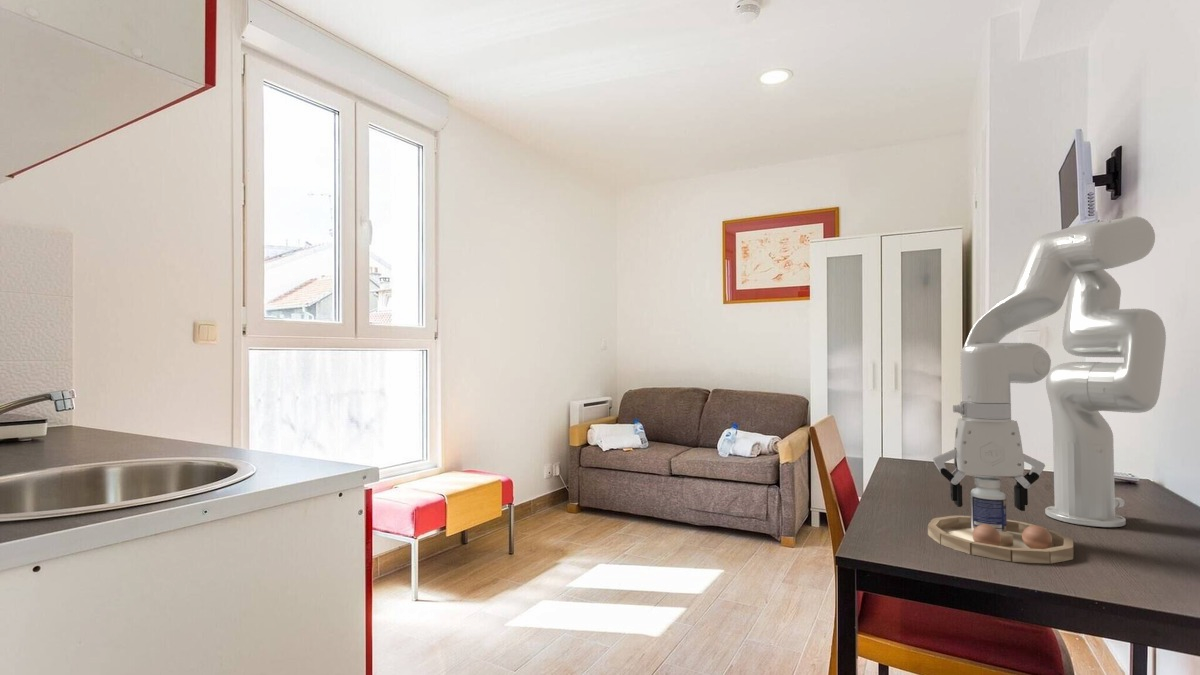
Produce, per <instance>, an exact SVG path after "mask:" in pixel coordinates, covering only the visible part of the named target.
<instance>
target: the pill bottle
mask: <svg viewBox="0 0 1200 675" xmlns="http://www.w3.org/2000/svg"><path fill="white" fill-rule="evenodd" d="M973 483H974V485H975V486H976V487H975V488H972V489H971V491H970V493H969V494H970V516H971V528H972V530H974V529H975V528H976V527H977V526H979V525H983V524H986V525H990V526H992V527H994V528H995V529H997V530H998V531H1004V532H1007V524H1006V519H1007V497H1006V496H1007V494H1005V492H1004V491H1002V490H1001V488H1002V482H1001V478H999V477H980V476H974V482H973Z"/></svg>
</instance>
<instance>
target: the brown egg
mask: <svg viewBox="0 0 1200 675" xmlns="http://www.w3.org/2000/svg"><path fill="white" fill-rule="evenodd" d="M972 536H973V540H974V542H978V543H984V544H991V545H997V546H999V545H1000V543H1001V535H1000V533H999V532H998V530H997V529H995V528H994V527H992V526H990V525H986V524H983V525H979V526H977V527H976V528H975V529H974V530H973V534H972Z"/></svg>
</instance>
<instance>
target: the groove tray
mask: <svg viewBox="0 0 1200 675" xmlns="http://www.w3.org/2000/svg"><path fill="white" fill-rule="evenodd" d="M1006 524H1007V532H1004V531H998V532H999V533H1000V535H1001V543H1000V545H999V546H997V545H991V544H984V543H978V542H974V540H973V536H972V534H973V530H972V528H971V515H947V516H939V517H934V518H932V519H931V520H930V522H928V524H927V535H928V537H930V538H931V539H932V540H933V541H935V542H936V543H938V544H939V545H941V546H943V547H944V546H945V547H947V548H949V549H952V550H955V551H958V552H962V553H965V554H968V555H972V556H977V557H983V558H987V559H992V560H999V561H1005V562H1010V563H1011V562H1012V563H1025V564H1027V563H1028V564H1057V563H1061V562H1062V563H1063V562H1065V561H1070V560H1074V539H1073V538H1071V537H1069V536H1067V535H1066V534H1063V533H1061V532H1059V531H1057V530H1054V529H1052V528H1048V527H1044V526H1042V527H1043V528H1045V529H1046V530H1047V531H1048V532H1049V533H1050V535H1051V537H1052V544H1051V546H1050V547H1049V548H1047V549H1031V548H1029V547H1028V546H1027V545H1026V544H1025V543H1024V541H1023V539H1022V533H1023V531H1024V529H1025V528H1027V527H1029V526H1032V525H1034V524H1033V523H1029V522H1024V521H1019V520H1014V519H1013V520H1012V519H1007V518H1006Z"/></svg>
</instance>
